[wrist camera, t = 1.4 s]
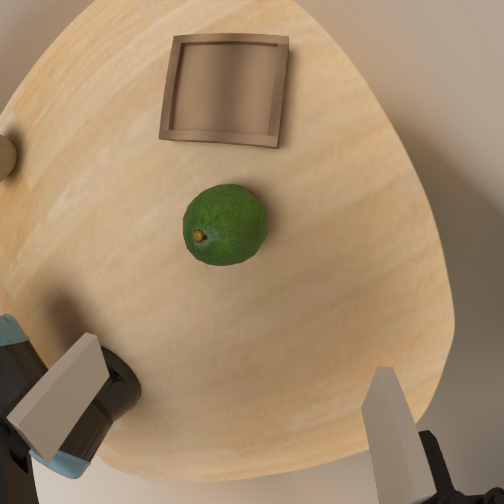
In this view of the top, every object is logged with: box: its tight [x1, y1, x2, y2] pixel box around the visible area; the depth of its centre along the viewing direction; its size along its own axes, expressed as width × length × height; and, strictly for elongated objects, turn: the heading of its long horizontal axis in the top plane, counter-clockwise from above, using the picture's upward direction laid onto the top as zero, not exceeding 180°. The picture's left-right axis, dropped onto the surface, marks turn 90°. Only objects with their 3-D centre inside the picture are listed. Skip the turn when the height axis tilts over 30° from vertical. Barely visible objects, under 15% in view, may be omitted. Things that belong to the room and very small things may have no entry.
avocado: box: [183, 184, 268, 266], centre depth 26 cm, size 8×8×12 cm
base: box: [159, 33, 289, 149], centre depth 26 cm, size 12×12×4 cm
